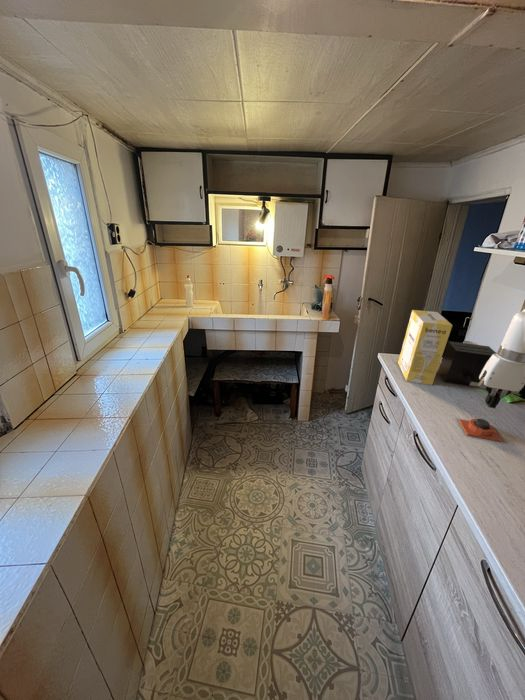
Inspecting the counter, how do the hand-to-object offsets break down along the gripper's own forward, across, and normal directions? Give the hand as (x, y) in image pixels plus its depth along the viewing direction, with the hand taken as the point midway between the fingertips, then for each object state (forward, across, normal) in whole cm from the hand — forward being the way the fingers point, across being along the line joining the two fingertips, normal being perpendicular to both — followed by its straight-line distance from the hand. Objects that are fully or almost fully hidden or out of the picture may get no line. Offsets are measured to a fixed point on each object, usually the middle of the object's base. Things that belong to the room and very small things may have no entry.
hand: (489, 405), depth 90 cm
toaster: (+11, -6, -38) cm, 40 cm away
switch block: (+11, 0, 0) cm, 11 cm away
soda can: (+11, -12, -53) cm, 55 cm away
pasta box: (+11, +13, -37) cm, 41 cm away
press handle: (+7, -6, -29) cm, 31 cm away
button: (+8, 0, 0) cm, 9 cm away
